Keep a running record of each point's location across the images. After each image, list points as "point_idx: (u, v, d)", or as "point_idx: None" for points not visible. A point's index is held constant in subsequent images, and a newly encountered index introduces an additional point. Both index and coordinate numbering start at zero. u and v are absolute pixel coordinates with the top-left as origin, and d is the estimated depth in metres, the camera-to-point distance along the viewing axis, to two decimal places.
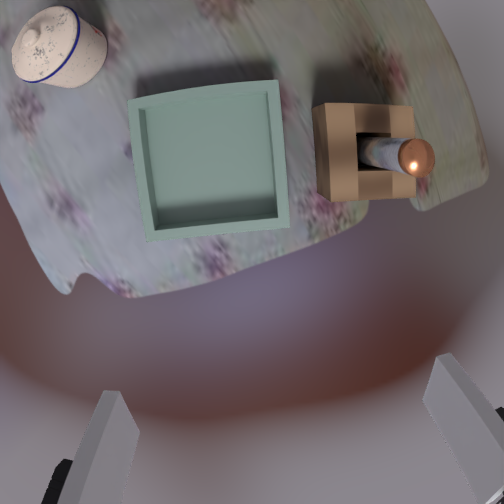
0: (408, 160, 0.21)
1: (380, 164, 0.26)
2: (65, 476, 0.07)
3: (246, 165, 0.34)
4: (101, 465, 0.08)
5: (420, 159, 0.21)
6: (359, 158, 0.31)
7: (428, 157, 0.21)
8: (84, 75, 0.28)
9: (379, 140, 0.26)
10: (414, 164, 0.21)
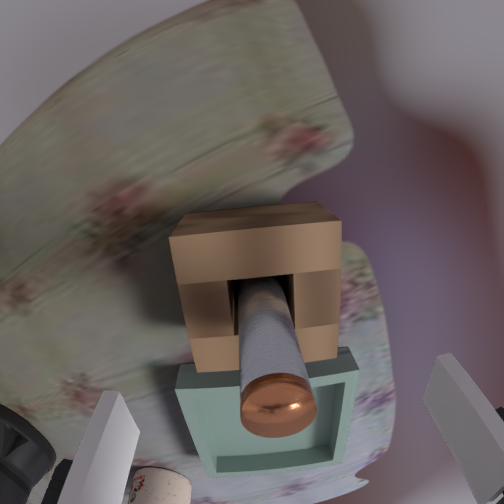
0: (284, 430, 0.11)
1: None
2: (65, 476, 0.07)
3: None
4: (101, 465, 0.08)
5: (281, 414, 0.11)
6: None
7: (276, 402, 0.11)
8: (182, 489, 0.33)
9: None
10: (291, 422, 0.11)
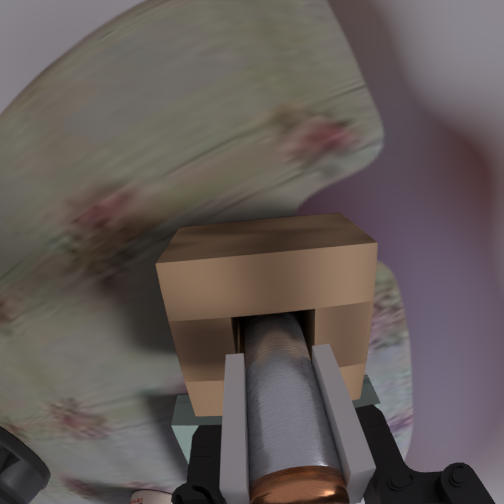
0: None
1: None
2: (207, 441, 0.09)
3: None
4: (246, 421, 0.10)
5: None
6: None
7: (298, 503, 0.07)
8: None
9: None
10: None
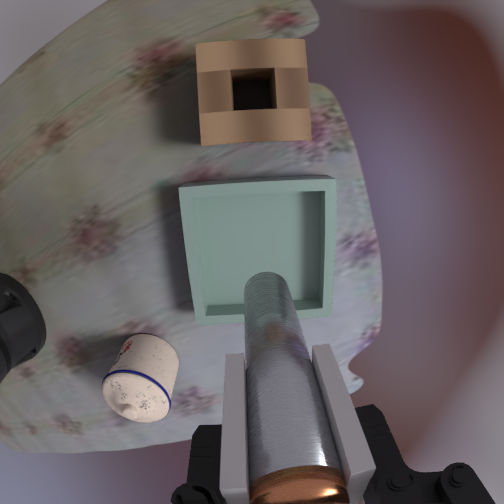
0: None
1: None
2: (207, 441, 0.09)
3: (269, 215, 0.35)
4: (246, 421, 0.10)
5: None
6: None
7: (299, 502, 0.07)
8: (168, 356, 0.39)
9: None
10: None
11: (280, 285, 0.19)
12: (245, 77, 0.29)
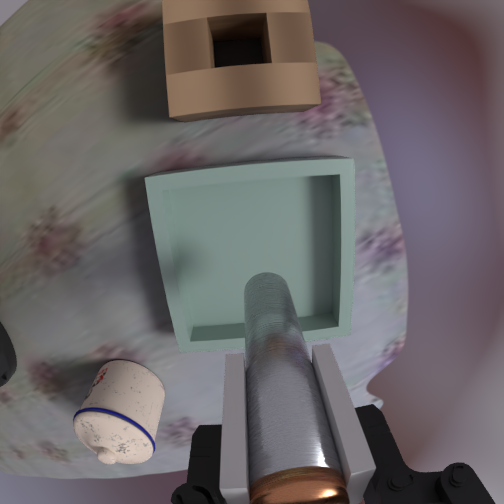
0: None
1: None
2: (207, 441, 0.09)
3: (267, 209, 0.26)
4: (246, 421, 0.10)
5: None
6: None
7: (299, 503, 0.07)
8: (150, 387, 0.31)
9: None
10: None
11: (280, 286, 0.19)
12: (229, 33, 0.20)
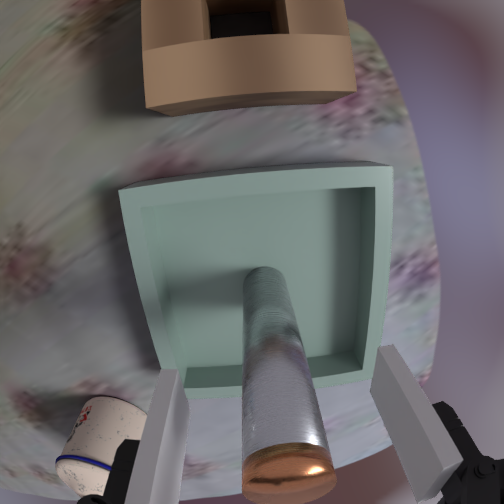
0: (295, 500, 0.08)
1: None
2: (129, 456, 0.09)
3: (278, 230, 0.21)
4: (168, 440, 0.09)
5: (293, 488, 0.08)
6: None
7: (287, 478, 0.07)
8: (140, 430, 0.25)
9: None
10: (304, 493, 0.08)
11: (277, 279, 0.20)
12: (230, 3, 0.15)
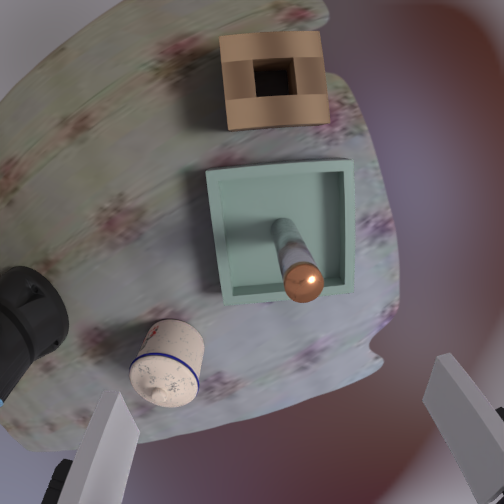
0: (307, 297, 0.24)
1: None
2: (65, 476, 0.07)
3: (291, 196, 0.36)
4: (101, 465, 0.08)
5: (305, 284, 0.23)
6: None
7: (303, 274, 0.23)
8: (195, 340, 0.41)
9: None
10: (311, 290, 0.24)
11: (291, 222, 0.35)
12: (264, 67, 0.30)
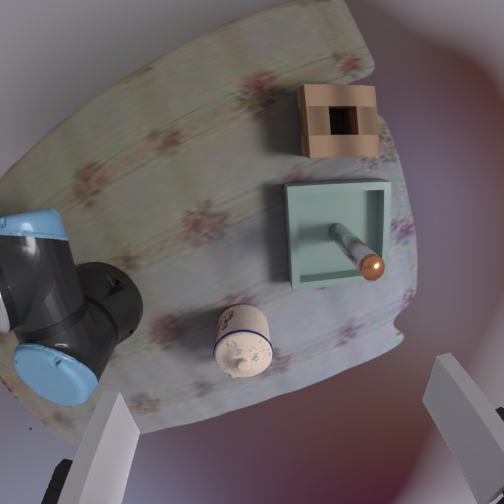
0: (374, 277, 0.35)
1: None
2: (65, 476, 0.07)
3: (344, 207, 0.47)
4: (101, 465, 0.08)
5: (374, 268, 0.34)
6: None
7: (373, 262, 0.34)
8: (264, 320, 0.52)
9: None
10: (377, 272, 0.35)
11: (345, 226, 0.47)
12: (330, 108, 0.41)
